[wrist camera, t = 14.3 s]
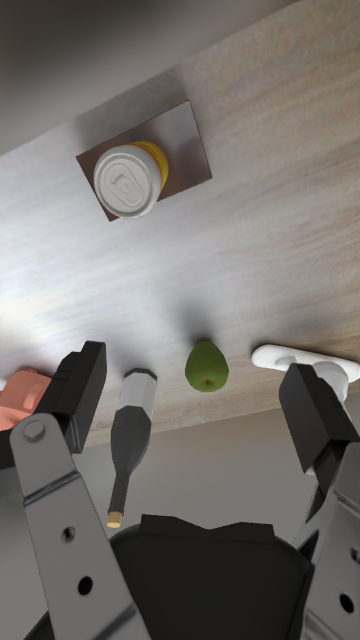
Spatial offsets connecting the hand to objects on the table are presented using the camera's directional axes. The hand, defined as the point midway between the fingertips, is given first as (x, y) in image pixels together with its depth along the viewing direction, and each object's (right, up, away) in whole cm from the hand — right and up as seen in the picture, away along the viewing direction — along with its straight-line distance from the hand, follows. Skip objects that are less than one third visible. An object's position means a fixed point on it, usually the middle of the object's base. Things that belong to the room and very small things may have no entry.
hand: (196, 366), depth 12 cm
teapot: (-34, -14, +58) cm, 68 cm away
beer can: (-5, +23, +25) cm, 34 cm away
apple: (+5, -4, +49) cm, 49 cm away
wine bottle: (-10, -12, +55) cm, 57 cm away
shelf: (-5, +25, +29) cm, 39 cm away
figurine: (+27, -7, +51) cm, 58 cm away
